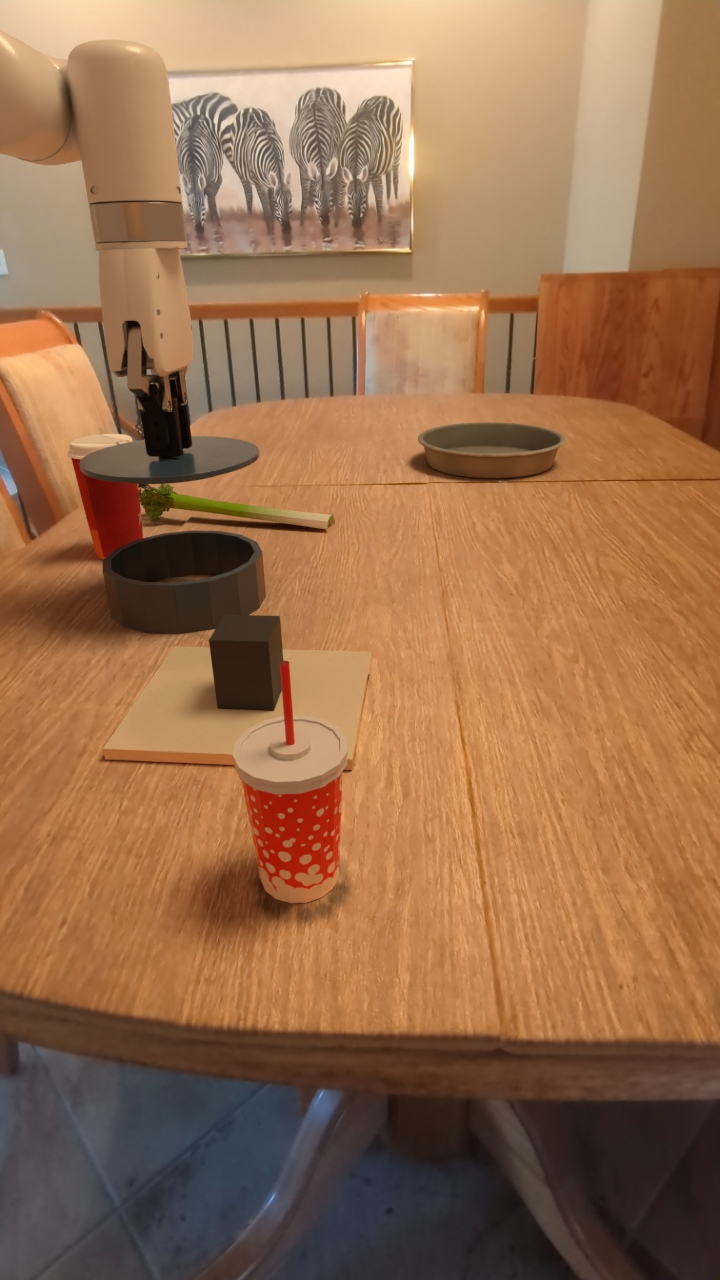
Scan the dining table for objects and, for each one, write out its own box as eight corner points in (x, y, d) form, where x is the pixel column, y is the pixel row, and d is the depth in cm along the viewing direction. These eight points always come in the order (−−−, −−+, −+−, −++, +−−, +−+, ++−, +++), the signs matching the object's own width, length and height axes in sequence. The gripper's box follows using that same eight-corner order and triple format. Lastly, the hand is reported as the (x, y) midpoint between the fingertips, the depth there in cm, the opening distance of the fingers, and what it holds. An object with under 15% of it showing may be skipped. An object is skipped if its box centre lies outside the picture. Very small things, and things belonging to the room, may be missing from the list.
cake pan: (387, 463, 130) (387, 436, 128) (480, 440, 145) (482, 416, 143) (499, 490, 114) (501, 461, 112) (592, 462, 128) (595, 435, 126)
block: (217, 709, 58) (208, 640, 56) (231, 680, 62) (224, 614, 60) (274, 711, 58) (268, 641, 55) (285, 681, 62) (280, 615, 59)
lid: (49, 489, 65) (33, 415, 63) (121, 446, 80) (111, 384, 77) (236, 490, 64) (228, 414, 61) (275, 446, 78) (270, 383, 76)
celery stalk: (322, 554, 96) (111, 521, 102) (337, 543, 102) (137, 512, 108) (326, 506, 94) (109, 476, 100) (341, 498, 100) (137, 469, 106)
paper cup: (166, 549, 94) (149, 435, 87) (124, 570, 88) (103, 449, 81) (116, 541, 97) (97, 430, 90) (73, 561, 91) (49, 444, 84)
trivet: (104, 760, 54) (102, 748, 54) (174, 655, 69) (173, 645, 68) (352, 770, 53) (352, 759, 52) (372, 661, 67) (372, 651, 66)
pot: (86, 636, 72) (75, 583, 70) (143, 575, 86) (136, 529, 84) (245, 641, 71) (240, 587, 68) (278, 578, 85) (274, 531, 82)
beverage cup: (341, 920, 41) (331, 699, 34) (233, 906, 42) (204, 689, 35) (360, 842, 46) (355, 639, 40) (264, 832, 47) (244, 632, 41)
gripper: (132, 234, 70) (160, 434, 79) (52, 229, 56) (97, 473, 65) (210, 231, 70) (230, 433, 78) (149, 225, 55) (182, 473, 64)
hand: (170, 450), depth 71 cm, fingers closed on lid, 2 cm apart
